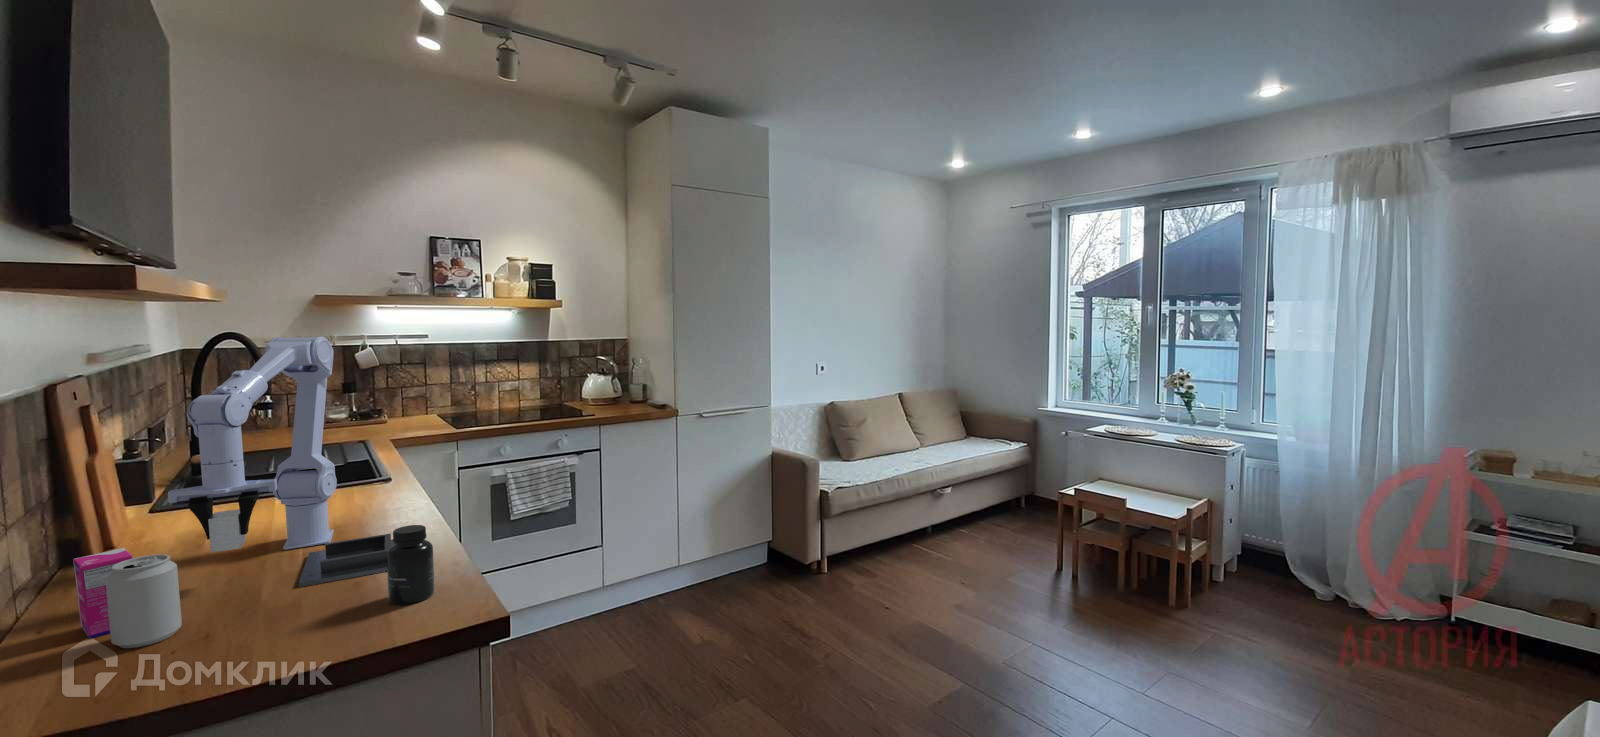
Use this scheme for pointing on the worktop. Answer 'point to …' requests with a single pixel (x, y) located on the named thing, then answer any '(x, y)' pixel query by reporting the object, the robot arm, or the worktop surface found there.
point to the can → (143, 601)
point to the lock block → (225, 531)
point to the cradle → (347, 560)
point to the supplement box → (95, 589)
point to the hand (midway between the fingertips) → (228, 535)
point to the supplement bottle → (410, 566)
